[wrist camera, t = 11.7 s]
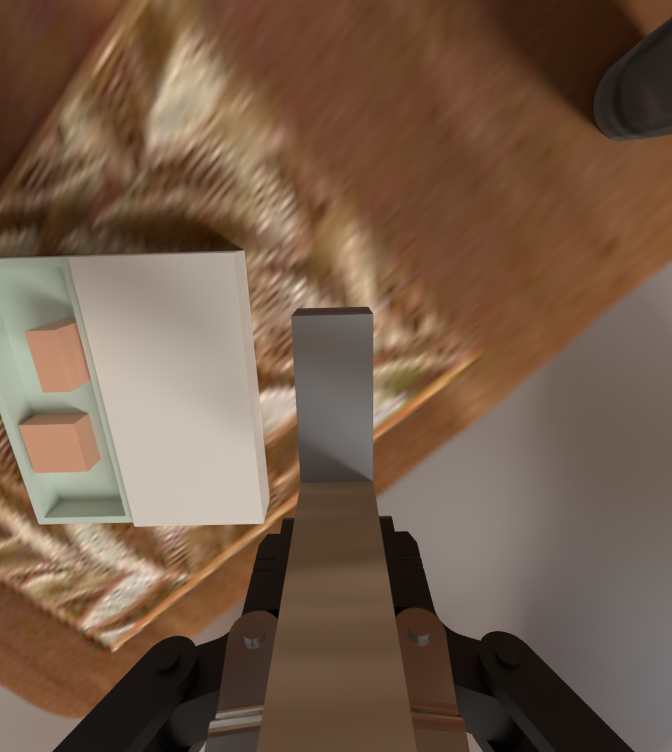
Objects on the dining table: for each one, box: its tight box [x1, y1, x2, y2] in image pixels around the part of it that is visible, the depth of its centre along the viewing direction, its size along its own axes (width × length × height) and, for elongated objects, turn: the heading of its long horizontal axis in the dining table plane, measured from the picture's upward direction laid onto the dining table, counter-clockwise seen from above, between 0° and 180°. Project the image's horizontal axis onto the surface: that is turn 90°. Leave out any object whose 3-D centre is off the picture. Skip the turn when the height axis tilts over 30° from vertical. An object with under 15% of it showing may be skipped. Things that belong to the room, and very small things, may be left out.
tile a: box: [24, 317, 91, 393], centre depth 26 cm, size 4×4×2 cm
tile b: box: [19, 413, 101, 473], centre depth 30 cm, size 4×4×2 cm
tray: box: [0, 255, 133, 524], centre depth 29 cm, size 20×8×2 cm, turn 2°
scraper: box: [256, 307, 417, 752], centre depth 11 cm, size 14×2×10 cm, turn 2°
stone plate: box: [68, 250, 270, 526], centre depth 29 cm, size 20×10×3 cm, turn 2°
